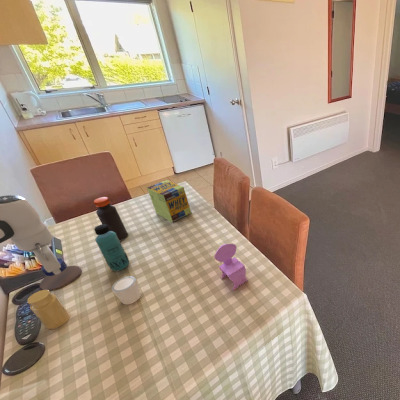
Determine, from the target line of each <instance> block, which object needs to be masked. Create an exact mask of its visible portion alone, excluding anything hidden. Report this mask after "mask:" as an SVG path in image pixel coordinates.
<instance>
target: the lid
mask: <svg viewBox="0 0 400 400" xmlns="http://www.w3.org/2000/svg"><path fill="white" fill-rule="evenodd" d="M56 259H57V260H58V262H59V263H60V265H61V267H60V268H59V269H60V271H61V272H62V271H64V270H65V269H66V267H67V266H68V265H67V263H66V262H65V260H64V259H63V258H60V257H59V258H56ZM40 268H41V271H42V272H43V274H44V275H45V277H46V276H53V275H55V274H54V273H53V272H50V273H48V272H47V271H46V270H45V269H44V267H43V266H42V265H41V267H40Z"/></svg>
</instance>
